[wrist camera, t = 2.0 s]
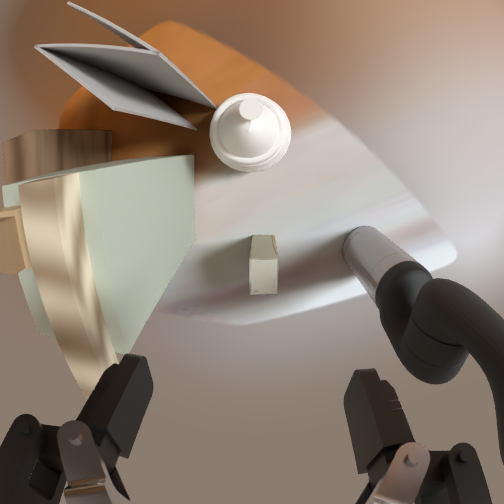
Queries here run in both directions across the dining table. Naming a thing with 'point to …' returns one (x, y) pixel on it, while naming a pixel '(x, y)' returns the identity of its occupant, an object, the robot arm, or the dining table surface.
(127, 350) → the rack
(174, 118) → the folded grey card
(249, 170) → the honey pot
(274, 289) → the skincare box
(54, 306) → the birch strip
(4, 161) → the walnut block
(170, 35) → the dining table surface
